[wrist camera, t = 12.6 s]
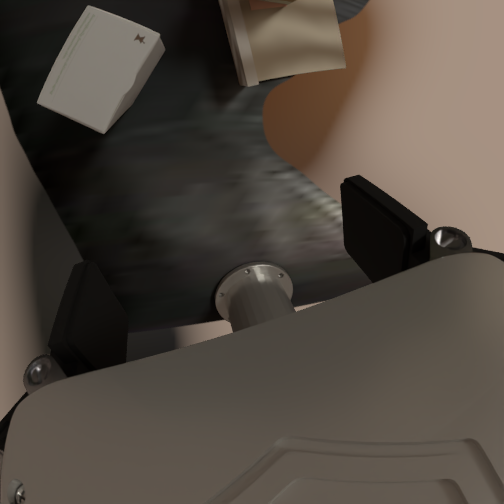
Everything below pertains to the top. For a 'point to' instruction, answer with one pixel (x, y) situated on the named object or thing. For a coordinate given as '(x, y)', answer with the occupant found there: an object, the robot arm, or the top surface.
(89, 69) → the skincare box
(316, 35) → the tray
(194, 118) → the top surface
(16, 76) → the top surface
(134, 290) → the top surface
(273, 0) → the skincare box
